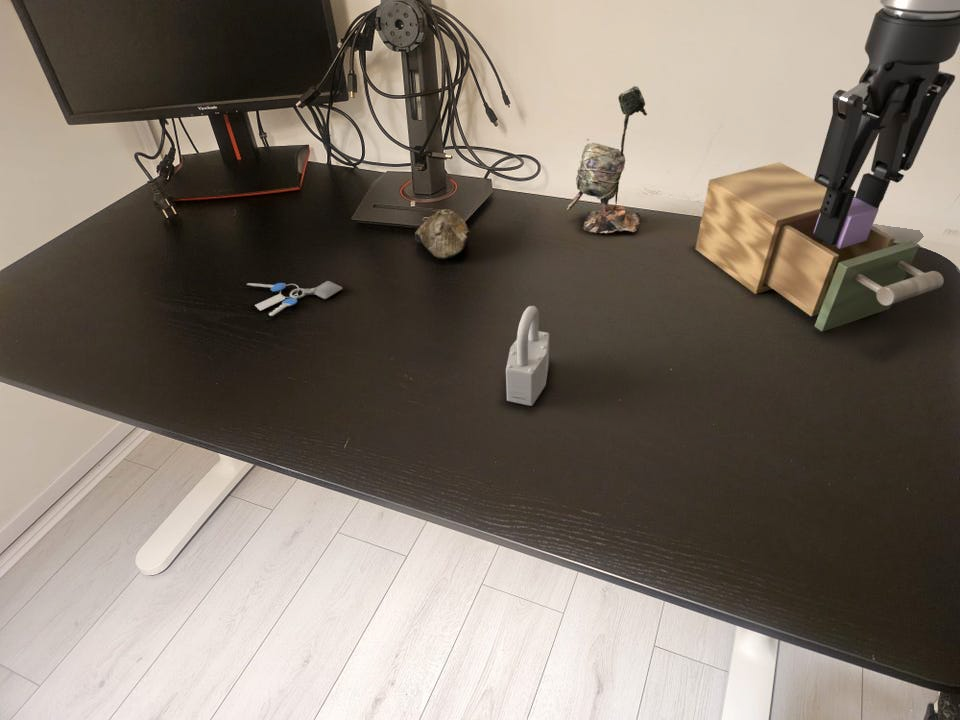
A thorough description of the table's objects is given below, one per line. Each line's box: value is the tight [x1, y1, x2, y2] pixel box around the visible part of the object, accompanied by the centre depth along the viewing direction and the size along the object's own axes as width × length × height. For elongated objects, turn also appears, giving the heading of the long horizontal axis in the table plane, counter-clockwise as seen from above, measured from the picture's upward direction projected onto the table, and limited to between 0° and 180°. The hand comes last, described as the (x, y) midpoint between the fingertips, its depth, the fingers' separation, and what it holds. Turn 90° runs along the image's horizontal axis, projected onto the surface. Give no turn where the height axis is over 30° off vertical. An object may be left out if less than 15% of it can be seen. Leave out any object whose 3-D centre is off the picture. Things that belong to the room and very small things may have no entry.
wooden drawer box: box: [694, 161, 827, 295], centre depth 82 cm, size 13×12×11 cm
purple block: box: [814, 196, 880, 249], centre depth 70 cm, size 4×4×4 cm
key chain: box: [246, 280, 343, 317], centre depth 83 cm, size 14×8×1 cm, turn 88°
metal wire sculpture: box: [567, 85, 648, 234], centre depth 89 cm, size 8×11×20 cm
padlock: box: [505, 305, 550, 407], centre depth 66 cm, size 7×4×10 cm, turn 161°
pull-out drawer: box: [764, 214, 944, 333], centre depth 72 cm, size 16×10×9 cm, turn 22°
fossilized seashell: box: [414, 209, 471, 260], centre depth 91 cm, size 8×7×10 cm
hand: (840, 234), depth 71 cm, fingers closed on purple block, 4 cm apart
